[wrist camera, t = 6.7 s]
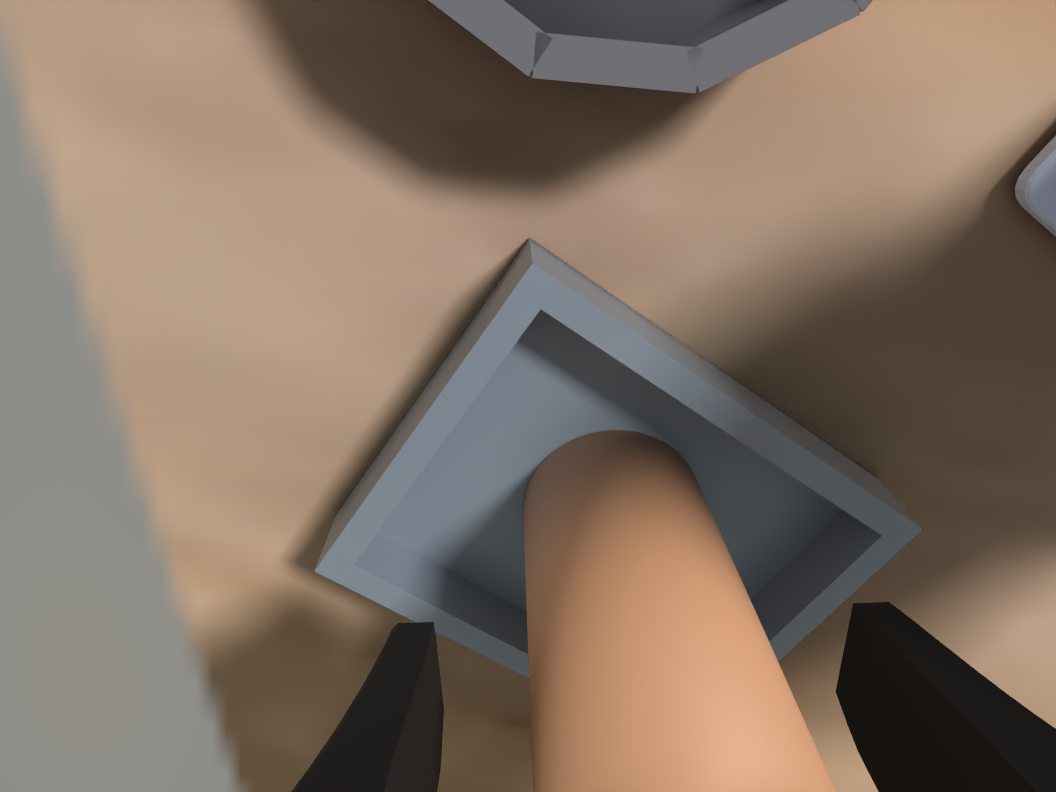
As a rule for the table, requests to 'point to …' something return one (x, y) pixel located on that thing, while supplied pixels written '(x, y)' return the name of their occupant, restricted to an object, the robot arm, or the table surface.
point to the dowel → (647, 635)
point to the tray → (570, 412)
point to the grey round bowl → (645, 36)
